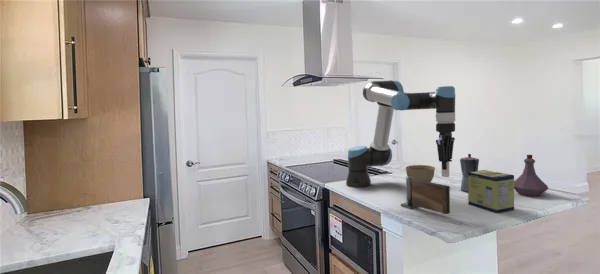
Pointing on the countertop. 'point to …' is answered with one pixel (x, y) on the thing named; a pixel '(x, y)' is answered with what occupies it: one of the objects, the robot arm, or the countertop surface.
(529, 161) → the flask
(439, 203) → the gate
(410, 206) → the gate post
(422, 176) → the planter bowl
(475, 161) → the moka pot
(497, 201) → the protein box
